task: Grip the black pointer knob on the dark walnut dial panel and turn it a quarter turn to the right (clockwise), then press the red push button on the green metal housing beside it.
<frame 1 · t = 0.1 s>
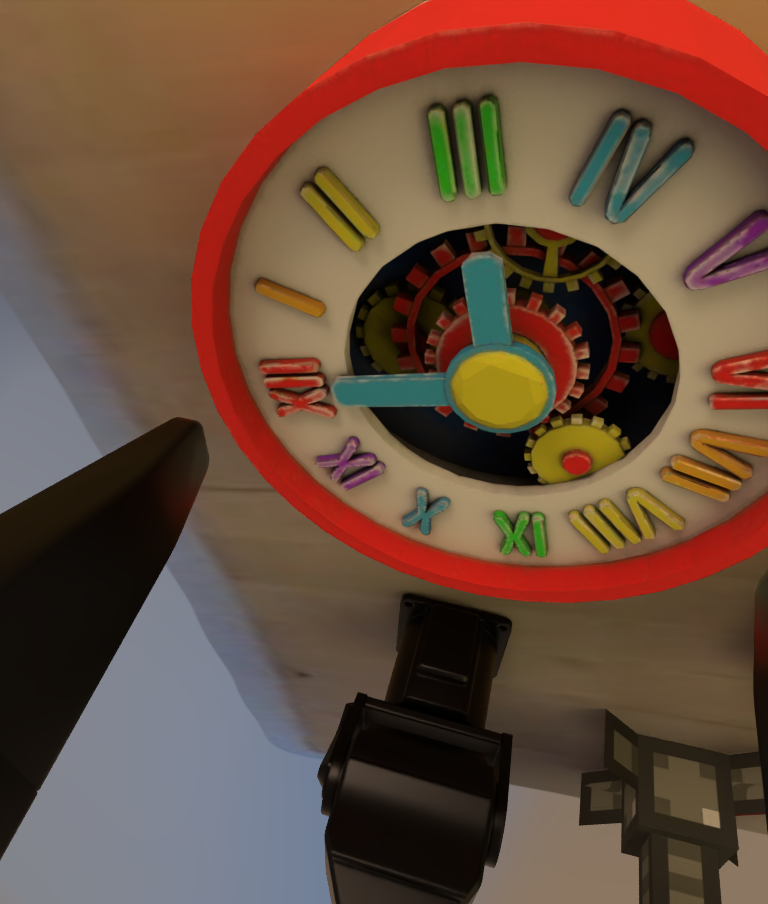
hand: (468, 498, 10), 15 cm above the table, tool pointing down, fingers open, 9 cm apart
toy clock: (518, 304, 24), on the table
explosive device: (672, 759, 44), on the table
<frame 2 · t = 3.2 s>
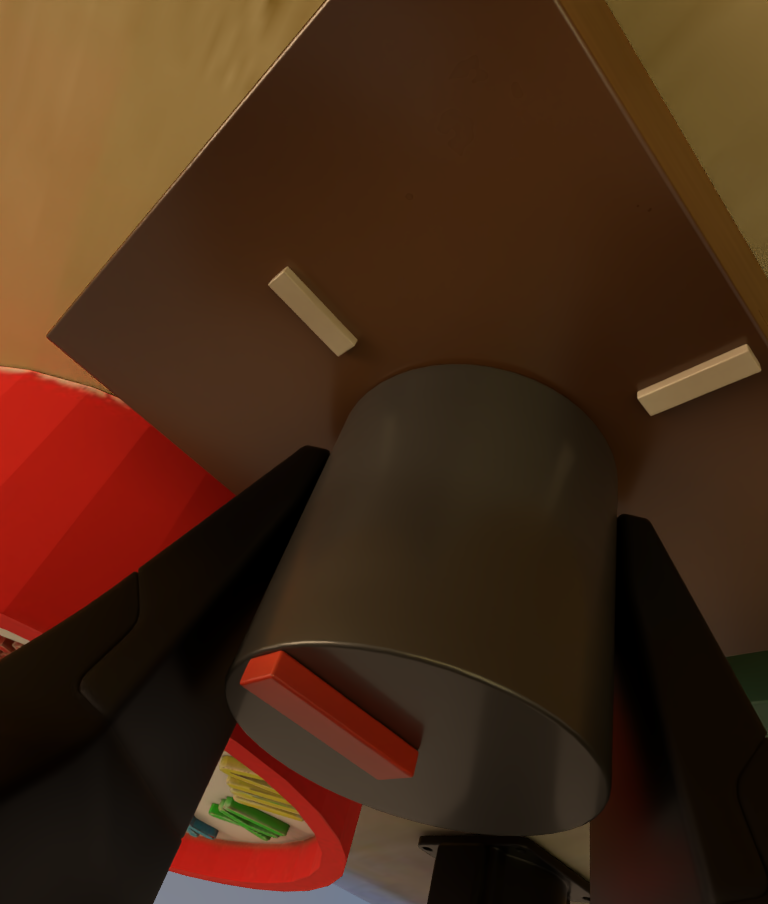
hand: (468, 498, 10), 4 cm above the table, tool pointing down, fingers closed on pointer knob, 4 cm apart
toy clock: (131, 589, 24), on the table
pointer knob: (442, 600, 9), point 5 cm above the table, hinge at 0.0°, touching gripper
dial panel: (498, 365, 13), on the table
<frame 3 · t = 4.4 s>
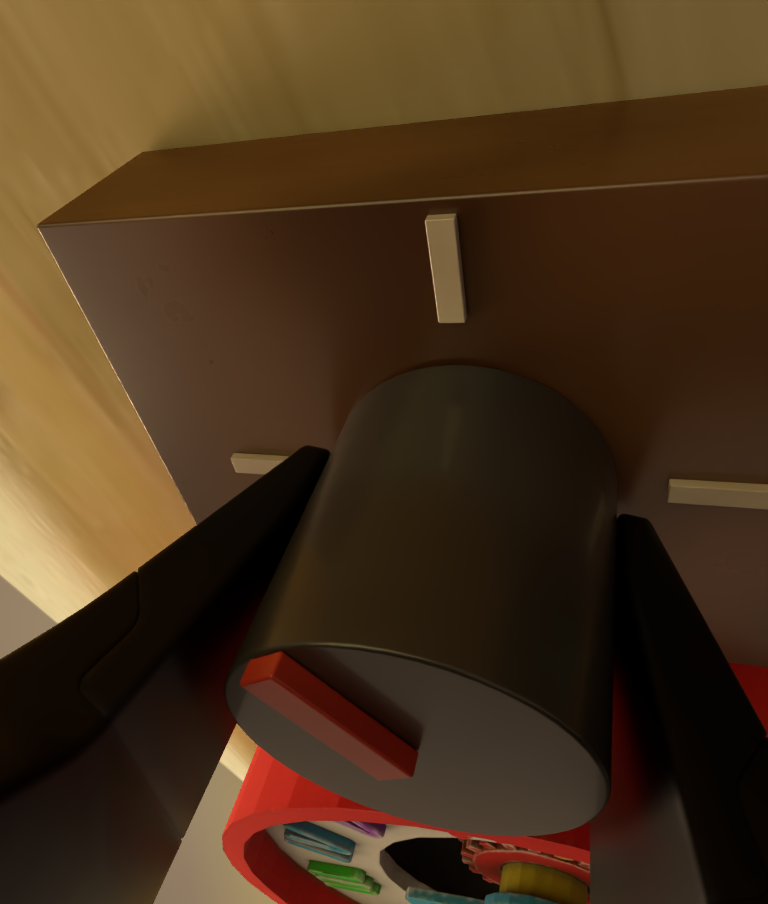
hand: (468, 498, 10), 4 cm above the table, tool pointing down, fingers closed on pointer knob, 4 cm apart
toy clock: (554, 754, 24), on the table
pointer knob: (441, 600, 9), point 5 cm above the table, hinge at -57.0°, touching gripper
dial panel: (498, 365, 13), on the table
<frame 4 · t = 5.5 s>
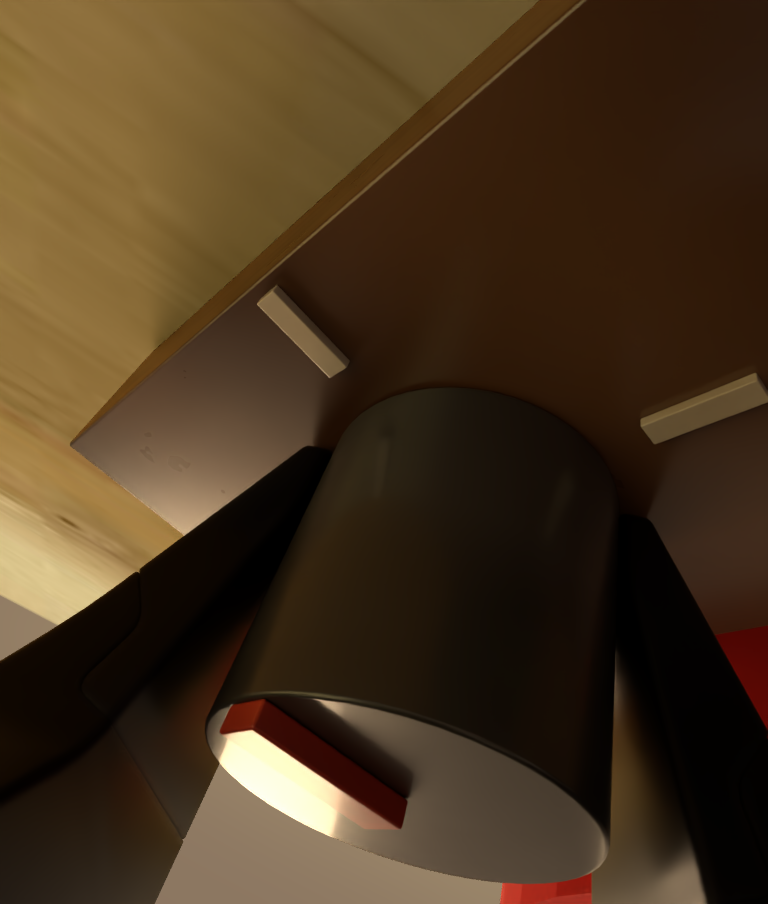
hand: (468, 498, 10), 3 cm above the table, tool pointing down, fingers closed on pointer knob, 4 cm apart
pointer knob: (435, 633, 8), point 5 cm above the table, hinge at -90.7°, touching gripper
dial panel: (497, 382, 12), on the table
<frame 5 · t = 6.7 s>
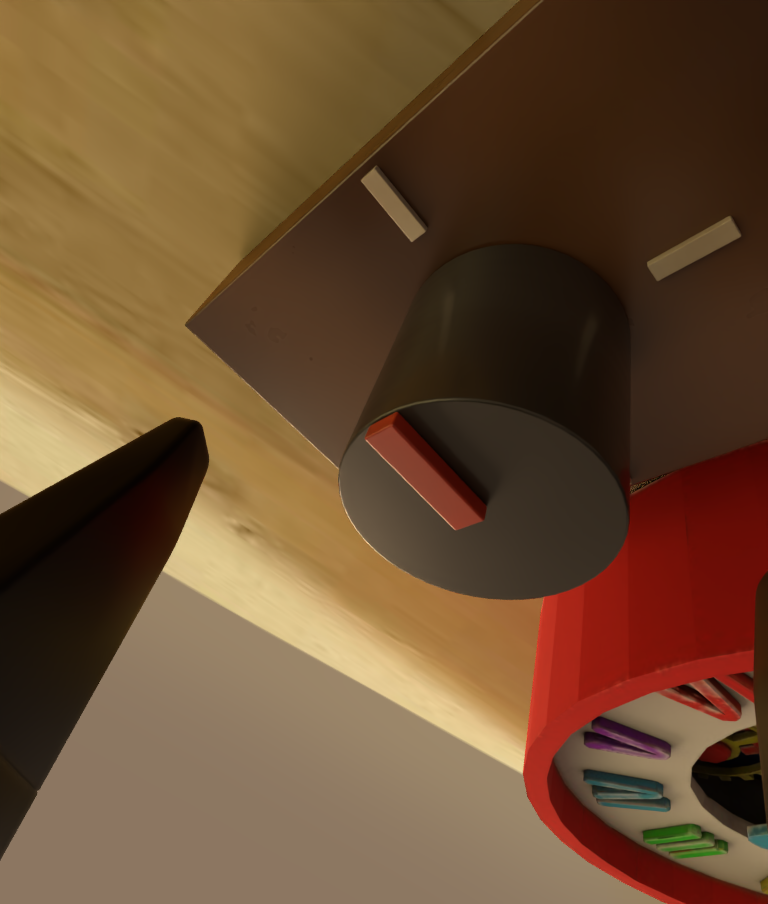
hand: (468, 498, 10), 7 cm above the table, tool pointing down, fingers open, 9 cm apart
pointer knob: (495, 424, 11), point 5 cm above the table, hinge at -90.8°
dial panel: (529, 273, 15), on the table
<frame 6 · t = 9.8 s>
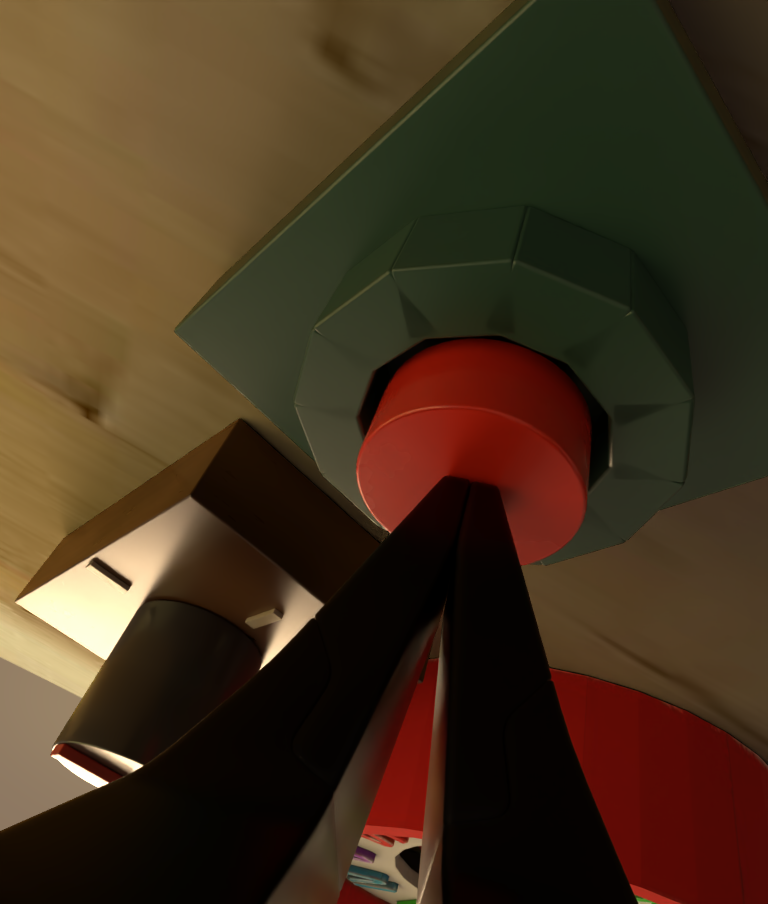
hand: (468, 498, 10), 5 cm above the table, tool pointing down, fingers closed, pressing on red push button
button box: (509, 316, 14), on the table
red push button: (475, 458, 11), point 4 cm above the table, slide at 0.0 cm, touching gripper
toy clock: (533, 777, 30), on the table
pointer knob: (162, 709, 20), point 5 cm above the table, hinge at -90.8°
dial panel: (237, 566, 24), on the table
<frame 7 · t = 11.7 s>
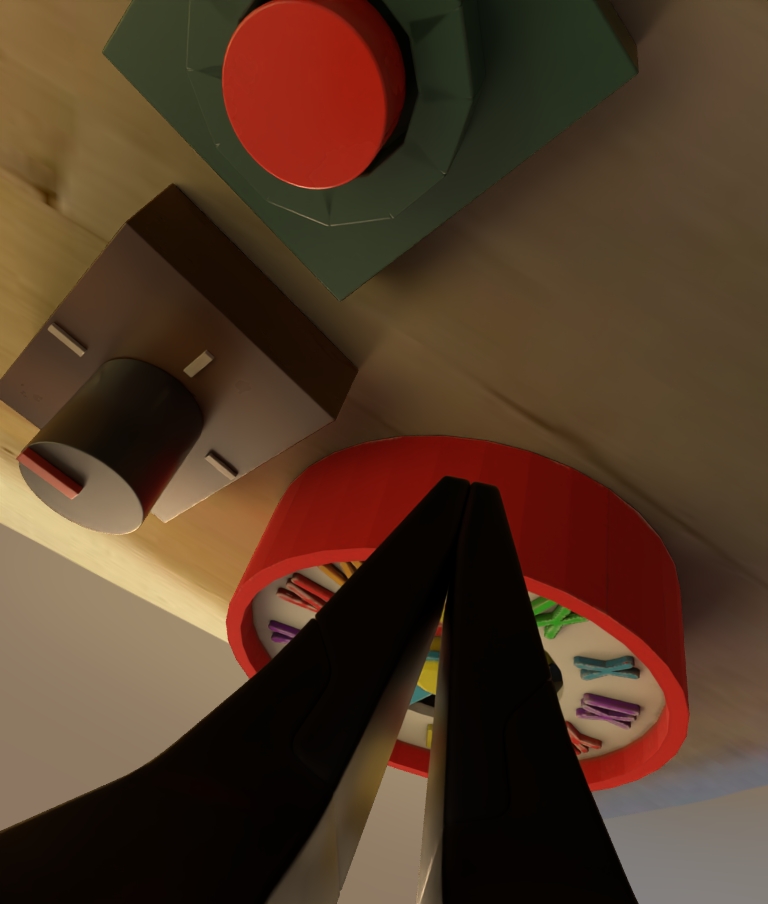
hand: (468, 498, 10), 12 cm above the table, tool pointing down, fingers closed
button box: (371, 39, 17), on the table
red push button: (316, 90, 14), point 5 cm above the table, slide at 0.2 cm
toy clock: (462, 582, 33), on the table
pointer knob: (115, 448, 23), point 5 cm above the table, hinge at -90.8°
dial panel: (185, 359, 27), on the table
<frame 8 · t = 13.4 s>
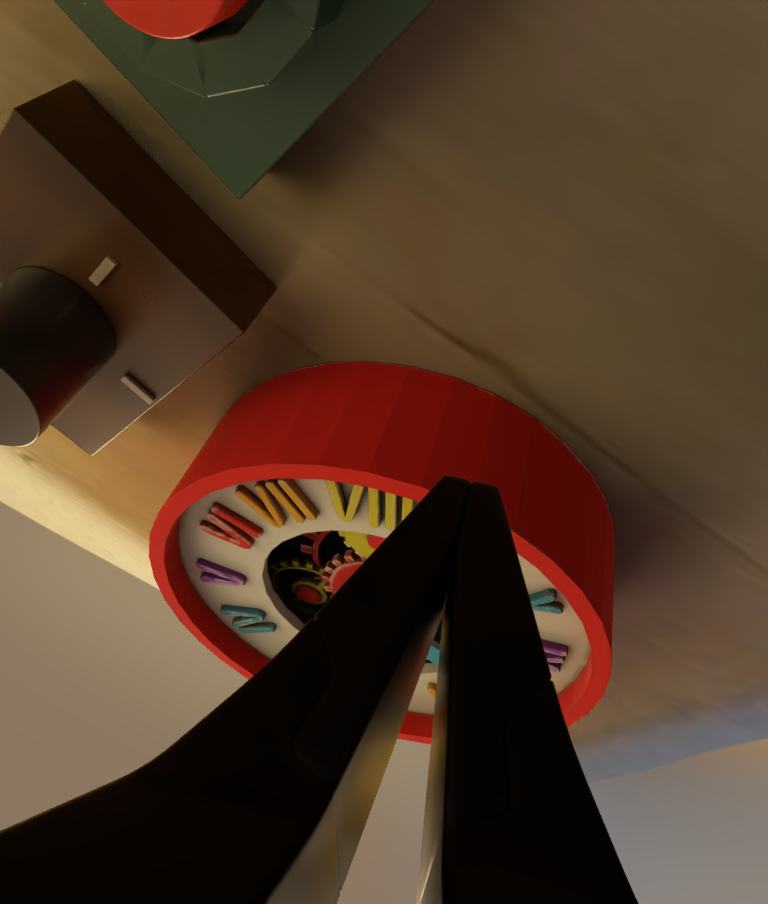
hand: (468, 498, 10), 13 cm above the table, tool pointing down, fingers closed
toy clock: (400, 527, 32), on the table
pointer knob: (17, 359, 23), point 5 cm above the table, hinge at -90.8°
dial panel: (106, 281, 26), on the table
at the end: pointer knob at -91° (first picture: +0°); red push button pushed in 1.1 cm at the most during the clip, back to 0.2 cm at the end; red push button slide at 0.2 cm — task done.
